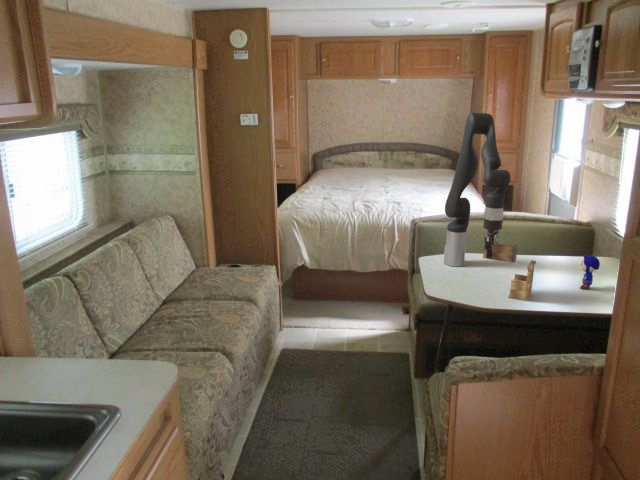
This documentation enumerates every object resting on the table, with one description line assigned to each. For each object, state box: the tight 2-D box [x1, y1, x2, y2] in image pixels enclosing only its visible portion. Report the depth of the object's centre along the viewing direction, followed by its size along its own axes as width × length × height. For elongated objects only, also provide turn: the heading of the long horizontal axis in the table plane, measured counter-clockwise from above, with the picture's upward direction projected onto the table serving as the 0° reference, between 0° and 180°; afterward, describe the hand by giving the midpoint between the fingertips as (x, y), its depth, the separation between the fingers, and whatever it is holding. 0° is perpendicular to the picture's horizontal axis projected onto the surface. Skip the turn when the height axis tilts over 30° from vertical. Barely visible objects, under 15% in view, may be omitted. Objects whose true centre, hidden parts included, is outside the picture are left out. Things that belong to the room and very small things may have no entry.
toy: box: [579, 254, 601, 291], centre depth 236 cm, size 13×8×15 cm, turn 142°
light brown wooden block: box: [482, 243, 518, 264], centre depth 230 cm, size 13×4×7 cm, turn 59°
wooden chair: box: [507, 259, 537, 302], centre depth 228 cm, size 8×9×15 cm
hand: (490, 256), depth 232 cm, fingers closed on light brown wooden block, 4 cm apart
